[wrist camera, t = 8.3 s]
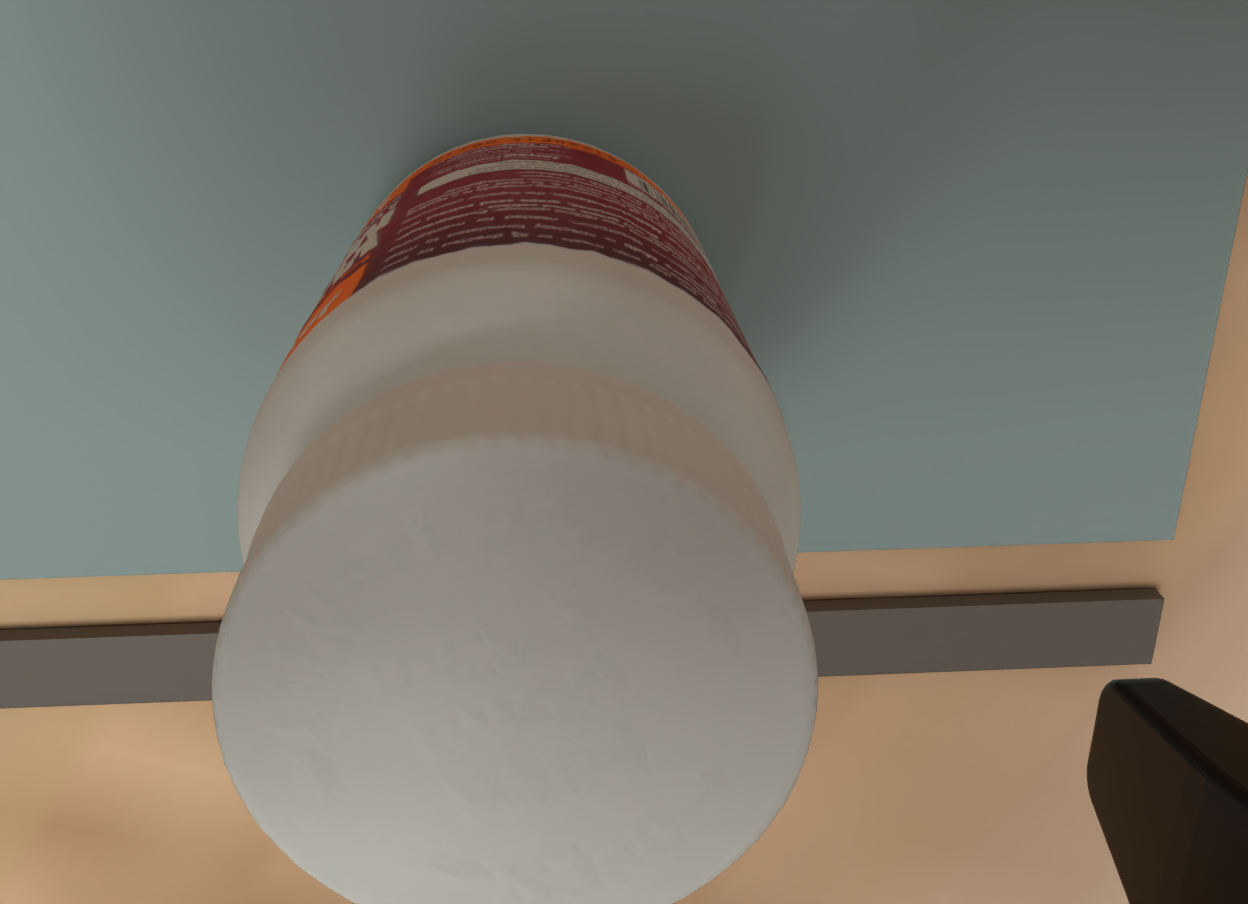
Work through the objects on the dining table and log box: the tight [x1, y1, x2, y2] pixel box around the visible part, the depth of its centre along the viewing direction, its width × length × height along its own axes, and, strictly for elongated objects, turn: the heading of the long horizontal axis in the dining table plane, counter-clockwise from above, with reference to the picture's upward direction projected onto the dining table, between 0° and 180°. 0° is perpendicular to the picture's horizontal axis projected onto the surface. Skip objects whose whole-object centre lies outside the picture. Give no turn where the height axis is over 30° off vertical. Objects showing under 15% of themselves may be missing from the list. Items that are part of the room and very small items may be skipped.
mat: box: [0, 0, 1248, 580], centre depth 20 cm, size 10×24×1 cm, turn 91°
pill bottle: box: [212, 134, 818, 904], centre depth 15 cm, size 6×6×11 cm
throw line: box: [0, 588, 1164, 708], centre depth 23 cm, size 2×24×1 cm, turn 91°
